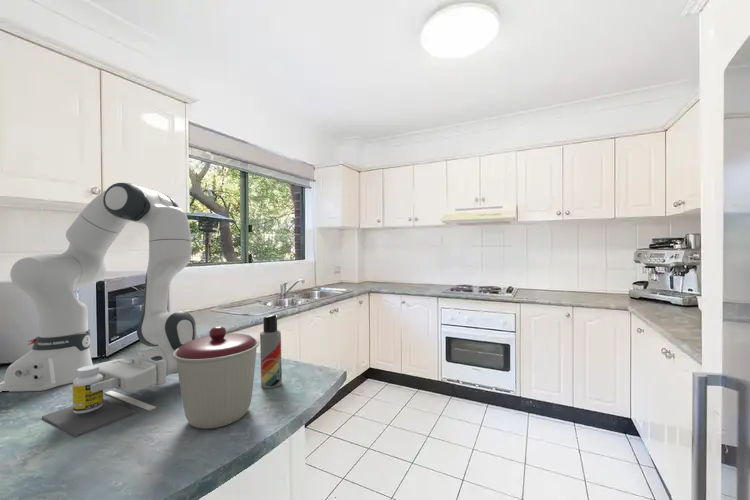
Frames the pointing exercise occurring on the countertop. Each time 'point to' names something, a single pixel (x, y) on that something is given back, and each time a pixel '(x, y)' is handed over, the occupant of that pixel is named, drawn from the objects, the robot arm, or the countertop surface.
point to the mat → (87, 418)
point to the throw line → (130, 400)
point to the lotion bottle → (270, 353)
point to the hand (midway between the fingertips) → (83, 386)
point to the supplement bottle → (87, 390)
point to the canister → (216, 377)
